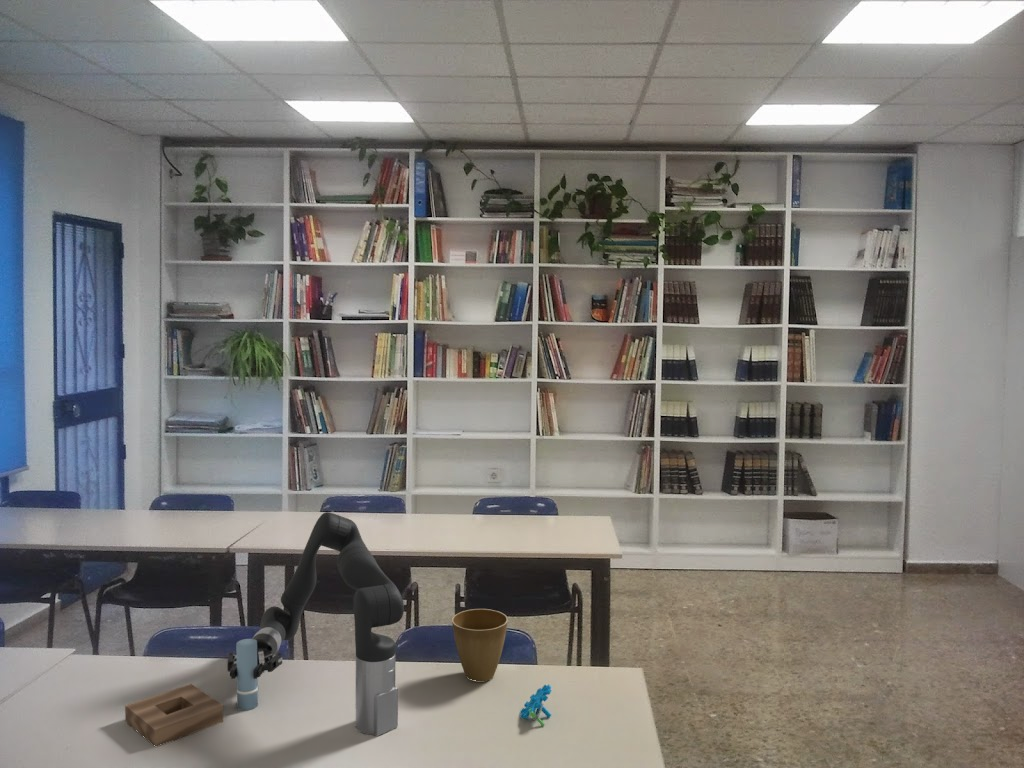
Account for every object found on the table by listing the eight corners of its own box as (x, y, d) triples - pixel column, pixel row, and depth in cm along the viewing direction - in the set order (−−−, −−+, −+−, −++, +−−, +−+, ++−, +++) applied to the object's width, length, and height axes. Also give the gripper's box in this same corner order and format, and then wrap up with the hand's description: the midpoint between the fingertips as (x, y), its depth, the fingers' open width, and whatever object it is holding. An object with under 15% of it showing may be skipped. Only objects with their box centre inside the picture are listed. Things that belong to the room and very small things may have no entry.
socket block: (223, 721, 191) (222, 705, 191) (155, 747, 180) (155, 729, 179) (191, 699, 202) (191, 683, 202) (125, 722, 190) (125, 705, 190)
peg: (262, 705, 199) (261, 642, 198) (243, 712, 196) (242, 648, 194) (251, 698, 203) (250, 636, 201) (233, 705, 199) (232, 642, 198)
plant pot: (457, 663, 226) (458, 607, 225) (510, 666, 224) (511, 610, 223) (445, 686, 211) (446, 627, 210) (502, 691, 209) (503, 631, 208)
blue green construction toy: (523, 697, 202) (551, 675, 199) (540, 714, 202) (568, 693, 199) (512, 724, 192) (541, 701, 189) (530, 742, 192) (559, 720, 189)
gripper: (236, 632, 212) (213, 659, 195) (291, 632, 213) (273, 660, 196) (236, 660, 213) (214, 690, 196) (291, 660, 213) (273, 690, 196)
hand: (243, 674), depth 196 cm, fingers closed on peg, 4 cm apart
